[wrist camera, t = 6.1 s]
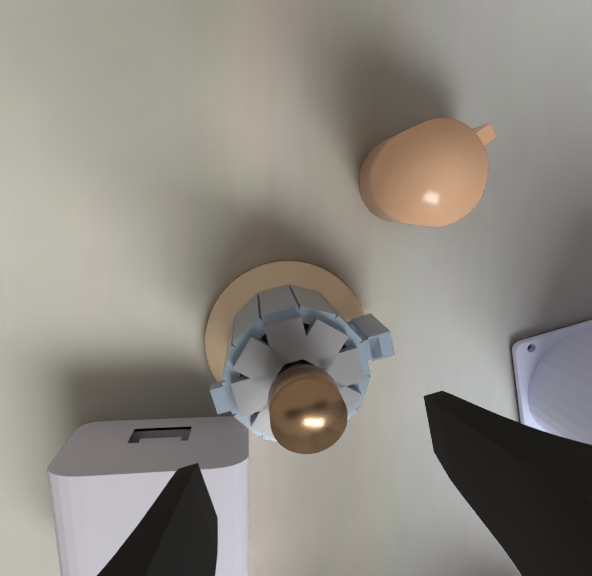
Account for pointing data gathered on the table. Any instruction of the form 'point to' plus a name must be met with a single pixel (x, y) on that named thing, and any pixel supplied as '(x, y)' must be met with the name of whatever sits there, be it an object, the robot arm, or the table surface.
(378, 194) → the cup
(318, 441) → the plunger
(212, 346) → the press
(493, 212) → the table surface
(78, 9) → the table surface
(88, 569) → the charger
